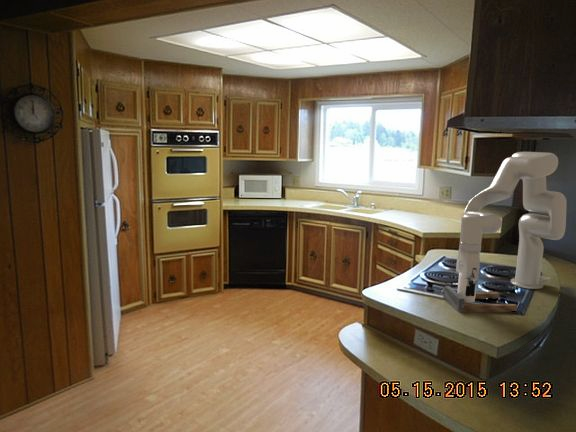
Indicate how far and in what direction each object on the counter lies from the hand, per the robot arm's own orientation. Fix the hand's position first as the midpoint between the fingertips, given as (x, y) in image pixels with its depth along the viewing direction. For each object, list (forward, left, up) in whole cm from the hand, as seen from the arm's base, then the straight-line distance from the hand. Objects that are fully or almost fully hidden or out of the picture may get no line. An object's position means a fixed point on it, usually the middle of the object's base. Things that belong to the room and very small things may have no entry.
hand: (465, 292), depth 165 cm
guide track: (-5, 0, -5) cm, 7 cm away
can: (0, 0, -3) cm, 3 cm away
